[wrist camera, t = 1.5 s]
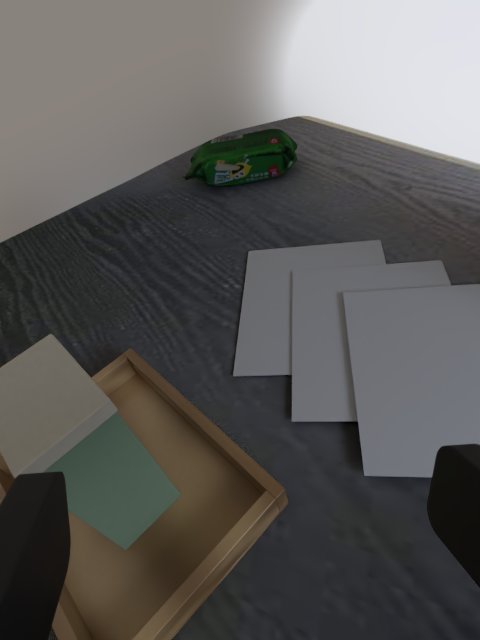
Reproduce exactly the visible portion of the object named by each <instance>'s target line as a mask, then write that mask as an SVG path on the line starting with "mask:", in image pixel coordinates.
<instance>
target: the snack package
mask: <svg viewBox="0 0 480 640" xmlns="http://www.w3.org/2000/svg"><path fill="white" fill-rule="evenodd" d="M296 149H297V144H296V143H295V142H294V141H293V140H292V139H291V137H289V136H288V135H287V134H286V133H285V132H283V131H282V130H280V129H268V130H263V131H258V132H253V133H248V134H242V135H235V136H229V137H222V138H217V139H214V140H210V141H208V142H206V143H204V144H203V145H202V146H201V147H200V148H199V149H198V150H197V152H196V153H195V154H194V155H193V156H192V158H191V163H192V166H191V168H190V170H189V171H188V173H187V174H186V176H185V177H183V178H185V180H188V179H199V180H201V181H203V182H205V183H207V184H209V185H214V186H228V185H237V184H243V183H250V182H255V181H260V180H265V179H271V178H276V177H279V176H281V175H283V174H285V173H286V172H287V171H288V169H289V168H290V167H291V166H292V165H293V164H294V163H295V162H296V161H297V156H296V154H295V150H296Z"/></svg>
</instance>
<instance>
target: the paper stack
mask: <svg viewBox="0 0 480 640" xmlns="http://www.w3.org/2000/svg"><path fill="white" fill-rule="evenodd" d="M265 375H292V422H336V421H358V426H359V434H360V443H361V451H362V460H363V468H364V476H394V477H432V475H433V470H434V464H435V459H436V454H437V452H438V450H439V448H441V447H442V446H446V445H461V444H479V445H480V284H470V285H455V286H451V283H450V281H449V278H448V275H447V273H446V270H445V268H444V265H443V263H442V260H436V261H423V262H410V263H396V264H386V261H385V257H384V253H383V249H382V244H381V240H371V241H359V242H348V243H336V244H325V245H314V246H302V247H291V248H279V249H268V250H256V251H249V253H248V261H247V269H246V277H245V285H244V293H243V301H242V308H241V316H240V324H239V332H238V340H237V348H236V356H235V364H234V372H233V376H265Z"/></svg>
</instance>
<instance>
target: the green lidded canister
mask: <svg viewBox="0 0 480 640" xmlns="http://www.w3.org/2000/svg"><path fill="white" fill-rule="evenodd" d="M0 453H1V455H2V456H3V458H4V460H5V462H6V464H7V466H8V468H9V470H10V472H11V474H12V475H13V477H14V478H16V477H17V476H18V475H20V474H30V473H44V472H59V471H62V472H63V474H64V477H65V483H66V493H67V504H68V511H69V512H71V513H72V514H74V515H75V516H77V517H78V518H79V519H81V520H82V521H84V522H85V523H87V524H88V525H90V526H91V527H93V528H94V529H95V530H97V531H98V532H100V533H101V534H103V535H104V536H106V537H107V538H109V539H110V540H111V541H113V542H114V543H116V544H117V545H119V546H120V547H122V548H123V549H125V550H127V549H128V548H129V547H130V546H131V545H132V544H133V543H134V542H135V541H136V540H137V539H138V538H139V537H140V536H141V535H142V534H143V533H144V532H145V531H146V530H147V529H148V528H149V527H150V526H151V525H152V524H153V523H154V522H155V521H156V520H157V519H158V518H159V517H160V516H161V515H162V514H163V513H164V512H165V511H166V510H167V509H168V508H169V507H170V506H171V505H172V504H173V503H174V502H175V501H176V500H177V499H178V498H179V497H180V496H181V493H180V492H179V491H178V489H177V488H176V487H175V486H174V484H173V483H172V482H171V480H170V479H169V478H168V477H167V475H166V474H165V473H164V471H163V470H162V469H161V468H160V466H159V465H158V464H157V463H156V461H155V460H154V459H153V457H152V456H151V455H150V454H149V452H148V451H147V450H146V448H145V447H144V446H143V445H142V443H141V442H140V441H139V439H138V438H137V437H136V436H135V434H134V433H133V432H132V430H131V429H130V428H129V427H128V425H127V424H126V423H125V422H124V420H123V419H122V418H121V416H120V415H119V414H118V413H117V407H116V406H115V405H114V404H113V402H112V401H111V400H110V398H109V397H108V396H107V395H106V394H105V393H104V392H103V391H102V390H101V388H100V387H99V386H98V385H97V384H96V383H95V382H94V381H93V379H92V378H91V377H90V376H89V375H88V374H87V373H86V372H85V370H84V369H83V368H82V367H81V366H80V365H79V364H78V363H77V361H76V360H75V359H74V358H73V357H72V356H71V355H70V354H69V352H68V351H67V350H66V349H65V348H64V347H63V346H62V345H61V344H60V342H59V341H58V340H57V339H56V338H55V337H54V336H53V335H52V334H49V335H48V336H46V337H45V338H43V339H42V340H40V341H39V342H38V343H36V344H35V345H33V346H32V347H30V348H29V349H27V350H26V351H24V352H23V353H21V354H20V355H18V356H17V357H15V358H14V359H13V360H11V361H10V362H8V363H7V364H5V365H4V366H2V367H1V368H0Z"/></svg>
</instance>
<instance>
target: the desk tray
mask: <svg viewBox="0 0 480 640" xmlns="http://www.w3.org/2000/svg"><path fill="white" fill-rule="evenodd" d="M92 379H93V381H94V382H95V383H96V384H97V385H98V386H99V387H100V388H101V390H102V391H103V392H104V393H105V394H106V395H107V396H108V397H109V398H110V400H111V401H112V402H113V404H114V405H115V406H116V407H117V413H118V414H119V415H120V416H121V418H122V419H123V420H124V422H125V423H126V424H127V425H128V427H129V428H130V429H131V430H132V432H133V433H134V434H135V436H136V437H137V438H138V439H139V441H140V442H141V443H142V445H143V446H144V447H145V448H146V450H147V451H148V452H149V454H150V455H151V456H152V457H153V459H154V460H155V461H156V463H157V464H158V465H159V466H160V468H161V469H162V470H163V471H164V473H165V474H166V475H167V477H168V478H169V479H170V480H171V482H172V483H173V484H174V486H175V487H176V488H177V489H178V491H179V492H180V493H181V496H180V497H179V498H178V499H177V500H176V501H175V502H174V503H173V504H172V505H171V506H170V507H169V508H168V509H167V510H166V511H165V512H164V513H163V514H162V515H161V516H160V517H159V518H158V519H157V520H156V521H155V522H154V523H153V524H152V525H151V526H150V527H149V528H148V529H147V530H146V531H145V532H144V533H143V534H142V535H141V536H140V537H139V538H138V539H137V540H136V541H135V542H134V543H133V544H132V545H131V546H130V547H129V548H128V549H127V550H125V549H123V548H122V547H120V546H119V545H117V544H116V543H114V542H113V541H111V540H110V539H109V538H107V537H106V536H104V535H103V534H101V533H100V532H98V531H97V530H95V529H94V528H93V527H91V526H90V525H88V524H87V523H85V522H84V521H82V520H81V519H79V518H78V517H77V516H75V515H74V514H72V513H71V512H69V511H68V514H69V524H70V535H71V548H70V559H69V565H68V570H67V574H66V578H65V581H64V585H63V588H62V592H61V595H60V599H59V602H58V606H57V609H56V613H55V616H54V620H53V623H52V628H53V630H54V632H55V634H56V636H57V639H58V640H172V639H173V638H174V636H175V635H176V634H177V633H178V632H179V631H180V629H181V628H182V627H183V626H184V625H185V624H186V622H187V621H188V620H189V619H190V618H191V617H192V615H193V614H194V613H195V612H196V611H197V610H198V608H199V607H200V606H201V605H202V604H203V603H204V601H205V600H206V599H207V598H208V597H209V596H210V594H211V593H212V592H213V591H214V590H215V589H216V587H217V586H218V585H219V584H220V583H221V582H222V580H223V579H224V578H225V577H226V576H227V575H228V573H229V572H230V571H231V570H232V569H233V568H234V566H235V565H236V564H237V563H238V562H239V561H240V559H241V558H242V557H243V556H244V555H245V554H246V552H247V551H248V550H249V549H250V548H251V547H252V545H253V544H254V543H255V542H256V541H257V540H258V538H259V537H260V536H261V535H262V534H263V533H264V531H265V530H266V529H267V528H268V527H269V526H270V524H271V523H272V522H273V521H274V520H275V519H276V517H277V516H278V515H279V514H280V513H281V512H282V510H283V509H284V508H285V507H286V506H287V505H288V499H287V495H286V492H285V488H284V487H282V486H281V485H280V484H279V483H278V482H277V481H276V480H275V479H274V478H273V477H272V476H270V475H269V474H268V473H267V472H266V471H265V470H264V469H263V468H262V467H261V466H259V465H258V464H257V463H256V462H255V461H254V460H253V459H252V458H251V457H250V456H249V455H247V454H246V453H245V452H244V451H243V450H242V449H241V448H240V447H239V446H238V445H236V444H235V443H234V442H233V441H232V440H231V439H230V438H229V437H228V436H227V435H226V434H224V433H223V432H222V431H221V430H220V429H219V428H218V427H217V426H216V425H215V424H213V423H212V422H211V421H210V420H209V419H208V418H207V417H206V416H205V415H204V414H203V413H201V412H200V411H199V410H198V409H197V408H196V407H195V406H194V405H193V404H192V403H190V402H189V401H188V400H187V399H186V398H185V397H184V396H183V395H182V394H181V393H179V392H178V391H177V390H176V389H175V388H174V387H173V386H172V385H171V384H170V383H169V382H167V381H166V380H165V379H164V378H163V377H162V376H161V375H160V374H159V373H158V372H156V371H155V370H154V369H153V368H152V367H151V366H150V365H149V364H148V363H147V362H146V361H144V360H143V359H142V358H141V357H140V356H139V355H138V354H137V353H136V352H135V351H133V350H132V349H131V348H130V349H128V350H127V351H126V352H124V353H123V354H122V355H121V356H119V357H118V358H117V359H115V360H114V361H113V362H111V363H110V364H109V365H107V366H106V367H105V368H103V369H102V370H101V371H100V372H98V373H97V374H96V375H94V376H93V377H92ZM14 480H15V478H14V477H13V475H12V474H11V472H10V470H9V468H8V466H7V464H6V462H5V460H4V458H3V456H2V455H1V453H0V504H1V502H2V501H3V499H4V497H5V495H6V494H7V492H8V490H9V489H10V487H11V485H12V483H13V482H14Z"/></svg>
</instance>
